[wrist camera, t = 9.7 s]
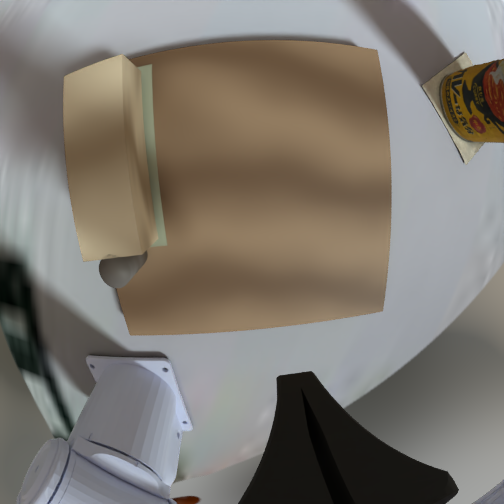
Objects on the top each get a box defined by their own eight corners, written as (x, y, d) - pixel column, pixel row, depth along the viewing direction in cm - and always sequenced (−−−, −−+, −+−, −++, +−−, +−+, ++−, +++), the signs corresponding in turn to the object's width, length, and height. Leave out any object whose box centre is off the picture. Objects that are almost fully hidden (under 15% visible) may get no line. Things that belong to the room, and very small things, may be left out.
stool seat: (374, 301, 20) (383, 311, 18) (135, 324, 19) (128, 336, 18) (367, 56, 14) (377, 49, 13) (100, 77, 14) (90, 70, 12)
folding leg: (163, 264, 16) (149, 285, 13) (112, 270, 16) (91, 290, 13) (141, 71, 12) (122, 54, 9) (89, 87, 12) (64, 76, 9)
